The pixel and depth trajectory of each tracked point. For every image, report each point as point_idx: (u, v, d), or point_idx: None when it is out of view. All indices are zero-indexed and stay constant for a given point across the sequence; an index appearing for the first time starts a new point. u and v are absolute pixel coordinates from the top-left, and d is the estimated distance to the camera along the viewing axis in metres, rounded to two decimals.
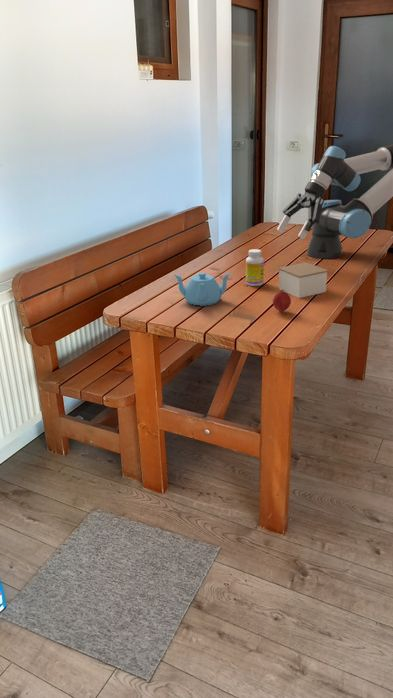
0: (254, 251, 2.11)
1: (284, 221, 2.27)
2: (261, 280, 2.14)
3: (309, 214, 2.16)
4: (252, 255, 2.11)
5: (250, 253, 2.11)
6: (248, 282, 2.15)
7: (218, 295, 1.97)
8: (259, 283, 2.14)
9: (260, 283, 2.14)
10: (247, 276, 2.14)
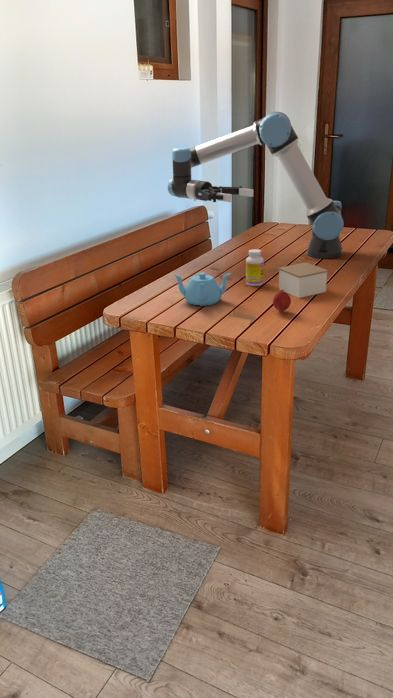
0: (254, 251, 2.11)
1: (243, 193, 2.25)
2: (261, 280, 2.14)
3: None
4: (252, 255, 2.11)
5: (250, 253, 2.11)
6: (248, 282, 2.15)
7: (218, 295, 1.97)
8: (259, 283, 2.14)
9: (260, 283, 2.14)
10: (247, 276, 2.14)
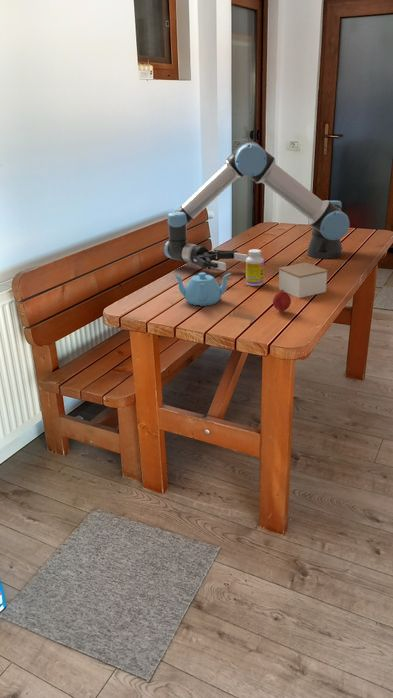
0: (254, 251, 2.11)
1: (238, 258, 2.27)
2: (261, 280, 2.14)
3: None
4: (252, 255, 2.11)
5: (250, 253, 2.11)
6: (248, 282, 2.15)
7: (218, 295, 1.97)
8: (259, 283, 2.14)
9: (260, 283, 2.14)
10: (247, 276, 2.14)
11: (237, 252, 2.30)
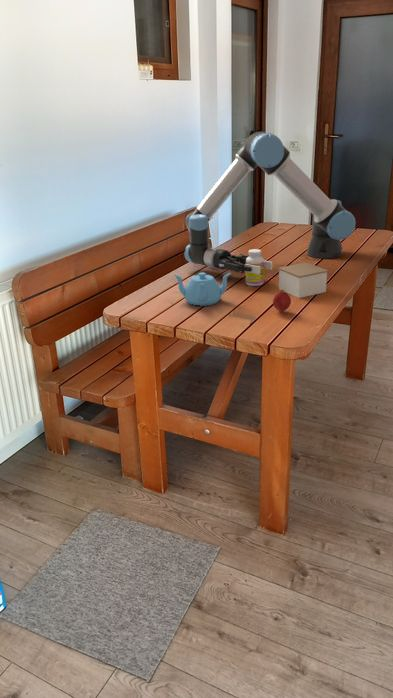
0: (254, 251, 2.11)
1: None
2: (261, 280, 2.14)
3: None
4: (252, 255, 2.11)
5: (250, 253, 2.11)
6: (248, 282, 2.15)
7: (218, 295, 1.97)
8: (259, 283, 2.14)
9: (260, 283, 2.14)
10: (247, 276, 2.14)
11: None
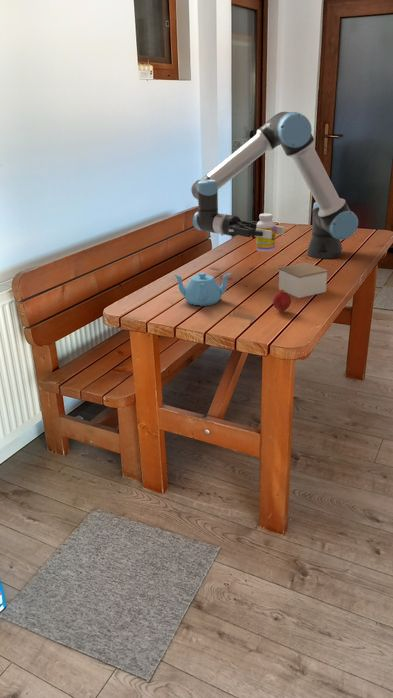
0: (265, 215, 2.02)
1: None
2: (272, 246, 2.06)
3: None
4: (263, 219, 2.02)
5: (261, 217, 2.02)
6: (259, 248, 2.06)
7: (218, 295, 1.97)
8: (270, 249, 2.05)
9: (271, 249, 2.06)
10: (258, 241, 2.06)
11: None
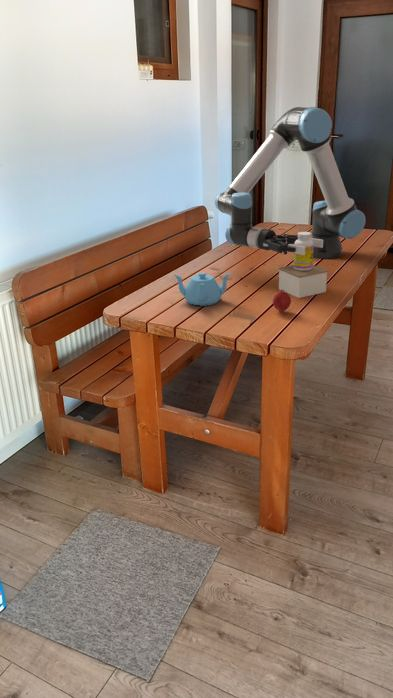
0: (304, 233, 1.99)
1: None
2: (310, 264, 2.02)
3: None
4: (302, 238, 1.99)
5: (300, 236, 1.99)
6: (297, 267, 2.03)
7: (218, 295, 1.97)
8: (308, 268, 2.02)
9: (309, 268, 2.02)
10: (296, 260, 2.02)
11: None
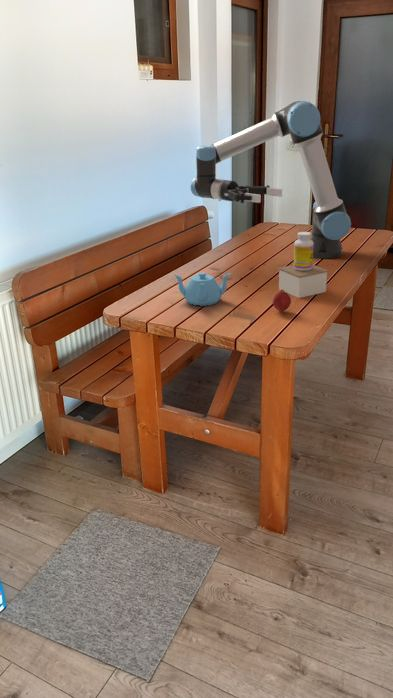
0: (304, 234, 1.99)
1: (271, 193, 2.15)
2: (310, 265, 2.02)
3: None
4: (302, 238, 1.99)
5: (299, 236, 1.99)
6: (297, 267, 2.03)
7: (218, 295, 1.97)
8: (308, 268, 2.02)
9: (309, 268, 2.02)
10: (296, 260, 2.02)
11: (269, 187, 2.19)
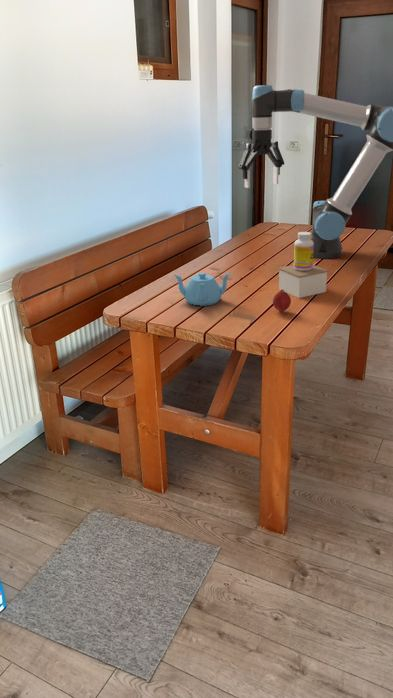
0: (304, 234, 1.99)
1: (274, 173, 2.32)
2: (310, 265, 2.02)
3: None
4: (302, 238, 1.99)
5: (300, 236, 1.99)
6: (297, 267, 2.03)
7: (218, 295, 1.97)
8: (308, 268, 2.02)
9: (309, 268, 2.02)
10: (296, 260, 2.02)
11: (282, 164, 2.31)
